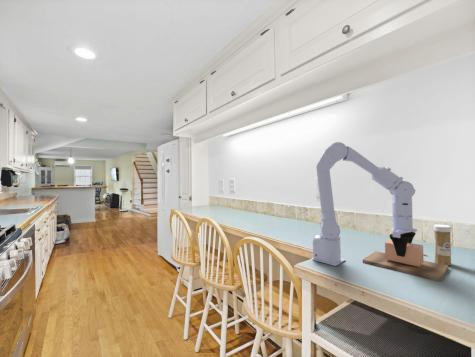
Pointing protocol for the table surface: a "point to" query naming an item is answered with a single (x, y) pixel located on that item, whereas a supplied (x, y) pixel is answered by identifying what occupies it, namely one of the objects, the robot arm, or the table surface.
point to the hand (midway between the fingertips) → (403, 254)
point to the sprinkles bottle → (442, 244)
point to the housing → (411, 256)
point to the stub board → (408, 266)
